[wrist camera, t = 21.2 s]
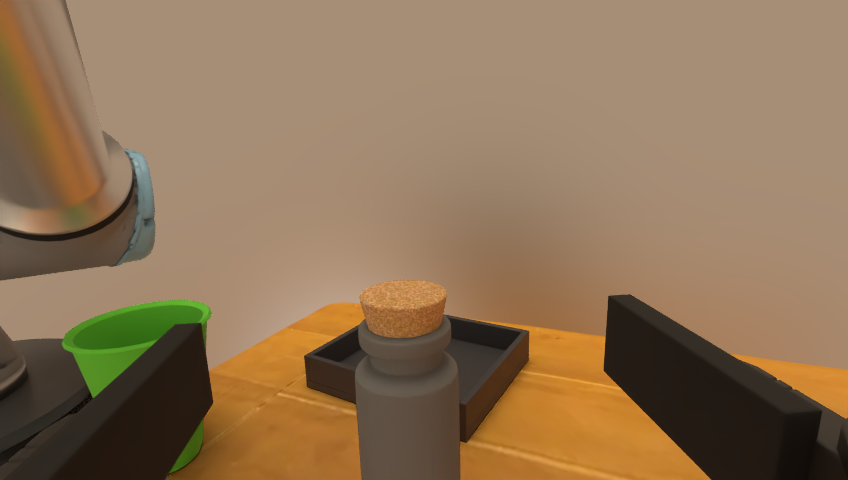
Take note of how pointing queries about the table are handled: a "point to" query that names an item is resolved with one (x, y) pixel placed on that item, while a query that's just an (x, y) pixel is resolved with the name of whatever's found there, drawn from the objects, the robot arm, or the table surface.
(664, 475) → the table surface
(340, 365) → the baking tray
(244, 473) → the table surface
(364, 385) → the bottle
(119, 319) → the cup
